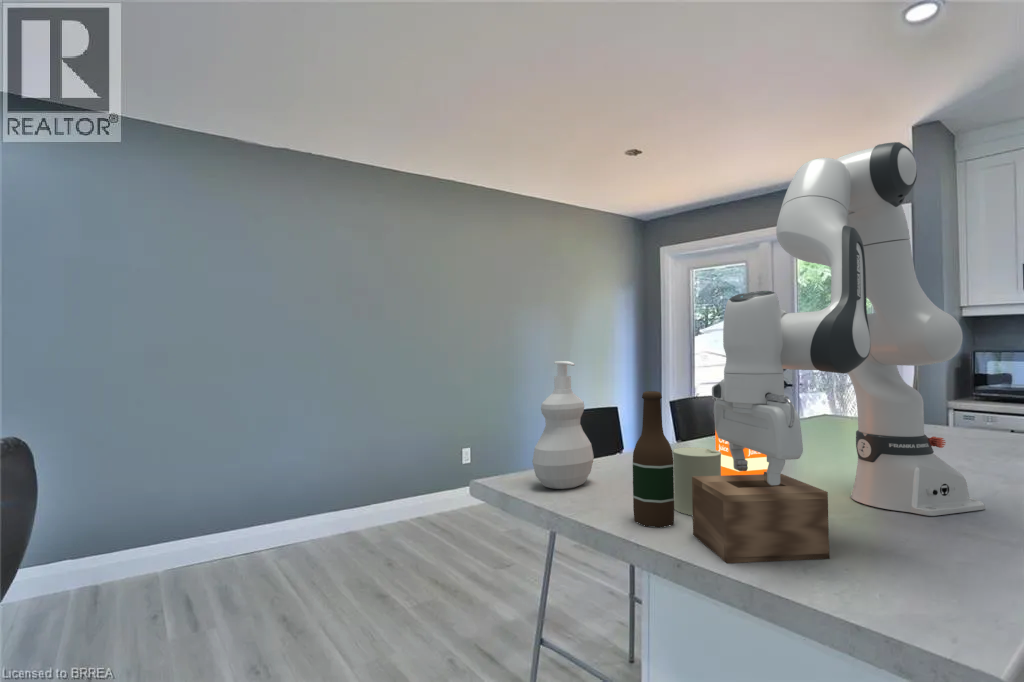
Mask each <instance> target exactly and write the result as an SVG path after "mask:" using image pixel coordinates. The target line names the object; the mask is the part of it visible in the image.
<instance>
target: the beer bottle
mask: <svg viewBox="0 0 1024 682" xmlns="http://www.w3.org/2000/svg"><path fill="white" fill-rule="evenodd" d="M641 398H642V399H643V408H642V409H643V410H642V428H641V435H640V436H639V438H638V439H637V441H636V442H635V445H634V449H633V452H632V497H633V498H632V499H633V500H632V501H633V502H632V503H633V504H632V505H633V506H632V507H633V510H632V511H633V521H634V522H635V523H636V522H638V523H637V524H639V523H640V524H639V525H641V524H642V525H641V526H644V525H645V526H644V527H648V526H655V527H654V528H660V527H662V528H665V527H664V526H666V527H670V526H669V525H671V526H674V523H675V521H674V520H675V509H674V461H673V449H672V446H671V444H670V441H669V440H668V439H667V437H666V436H665V434H664V427H663V420H662V403H661V399H662V398H663V396H662V393H661V391H655V390H653V391H652V390H650V391H649V390H647V391H644V392H642V396H641Z"/></svg>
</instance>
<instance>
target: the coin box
mask: <svg viewBox="0 0 1024 682" xmlns="http://www.w3.org/2000/svg"><path fill="white" fill-rule="evenodd" d="M692 506H693V516H692V536H693V535H694V536H693V537H695V539H697V540H698V541H699V540H700V541H699V542H701V543H702V544H703V545H704V546H705V547H706V548H708V549H709V550H710V551H712V552H713V553H714V554H715V555H717V556H718V557H719V558H720V559H721V560H723V562H725V563H726V564H735V563H742V564H743V563H759V562H762V563H764V562H782V561H785V562H786V561H787V562H788V561H804V560H805V561H808V560H809V561H810V560H827V559H828V560H830V532H829V531H830V529H829V526H830V525H829V492H828V491H827V490H824V489H821V488H819V487H816V486H813V485H812V484H808V483H806V482H803V481H801V480H799V479H796V478H793V477H791V476H788V475H787V474H786V475H785V474H783V473H780V484H779V485H770V484H767V483H765V482H764V474H756V475H724V476H692Z"/></svg>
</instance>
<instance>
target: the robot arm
mask: <svg viewBox="0 0 1024 682" xmlns="http://www.w3.org/2000/svg"><path fill="white" fill-rule="evenodd" d="M917 167H918V166H917V162H916V158H915V155H914V153H913V152H912V150H911V149H910V148H909V147H908V146H907V145H905V144H904V143H901V142H900V141H898V142H897V141H896V142H895V141H894V142H886V143H881V144H880V143H879V144H877V145H875V146H874V147H870V148H866V149H862V150H857V151H854V152H851V153H847V154H845V155H842V156H840V157H838V158H836V159H835V158H830V157H820V158H815V159H811V160H809V161H806V162H805V163H803V164H802V165H801V166H800V167H799V168H798V169H797V171H796V172H795V174H794V175H793V178H792V179H791V181H790V183H789V186H788V187H787V190H786V192H785V195H784V196H783V197H784V198H783V200H782V204H781V207H780V211H779V215H778V218H777V221H776V231H775V232H776V239H777V241H778V243H779V245H780V247H781V248H782V250H784V251H785V252H786V253H787V254H789V255H790V256H792V257H794V258H796V259H798V260H800V261H802V262H806V263H811V264H818V265H822V266H827V267H829V268H831V269H830V272H831V275H830V276H831V277H830V281H831V282H830V287H831V288H830V292H831V293H830V304H829V305H827V306H826V307H825V308H823V309H821V310H816V311H815V310H814V311H801V312H787V311H786V310H784V309H783V308H781V307H780V302H779V301H780V300H779V298H778V295H777V293H776V292H774V291H772V290H759V291H757V290H756V291H752V292H747V293H746V292H743V293H739V294H735V295H733V296H731V297H730V298H729V299H728V300H727V302H726V305H725V310H724V315H723V325H722V326H723V332H722V333H723V334H722V337H723V338H722V342H723V343H722V345H723V351H724V352H725V357H726V359H725V365H724V368H723V379H722V380H720V381H718V383H716V384H714V385H713V386H711V387H712V388H711V397H712V398H713V399H714V400H715V401H714V404H713V414H714V415H713V416H714V431H715V430H716V433H717V436H718V438H719V439H722V440H725V441H727V442H729V449H730V452H731V455H732V458H733V467H734V469H736V470H738V471H747V469H748V466H747V465H748V461H747V460H745V456H744V451H743V449H745V448H747V449H750V450H753V451H756V452H759V453H762V454H765V455H767V462H769V465H768V469H767V472H764V482H765V483H767V484H770V485H779V484H780V474H782V472H783V469H784V467H785V464H786V461H787V460H788V461H790V460H799V459H800V458H801V457H802V455H803V451H804V445H803V435H802V427H801V420H800V416H799V413H798V411H797V410H796V408H795V405H794V404H793V403H792V401H791V400H790V397H789V396H787V395H785V374H784V372H785V371H784V370H792V371H796V370H797V371H798V370H799V371H819V372H820V371H821V372H826V373H834V374H835V373H836V374H848V376H849V379H850V381H851V383H852V386H853V389H854V392H855V398H856V409H857V410H856V411H857V430H856V431H855V448H856V453H857V463H856V464H857V466H856V473H855V478H854V484H853V487H852V490H851V494H850V498H851V499H852V500H853V501H856V502H858V503H860V504H864V505H866V506H871V507H875V508H879V509H885V510H891V511H897V512H905V513H912V514H917V515H922V516H929V517H936V516H941V515H943V516H944V515H949V514H950V515H951V514H958V513H966V512H967V513H969V512H976V511H983V510H986V505H985V503H983V501H980V500H978V499H975V498H974V497H970V494H969V488H968V484H967V483H968V482H967V480H966V478H965V476H964V475H963V474H962V473H961V472H960V471H958V470H957V469H955V468H954V467H953V466H951V465H950V464H948V463H947V462H945V461H944V460H943V459H941V458H940V457H938V456H937V455H936V454H934V449H933V447H936V448H940V449H942V448H945V446H946V440H945V439H944V438H943V437H937V436H931V437H928V436H927V435H926V434H925V411H924V408H925V407H924V405H925V404H924V398H923V396H922V394H921V393H920V392H919V391H918V390H917V389H916V388H915V387H912V386H911V385H909V384H908V383H907V382H906V381H905V380H904V379H903V378H902V376H901V374H900V371H899V369H898V366H906V367H907V366H913V367H914V366H915V367H918V366H919V367H921V366H928V365H933V364H934V365H935V364H939V363H944V362H949V361H950V360H951V359H953V358H955V356H956V355H957V354H958V353H959V351H960V350H961V348H962V344H963V337H964V336H963V330H962V327H961V325H960V323H959V322H958V320H957V319H955V317H954V316H952V314H950V313H948V312H946V311H944V310H942V309H941V308H939V307H938V306H937V305H936V304H934V303H933V302H932V300H931V299H930V298H929V297H928V296H927V294H926V293H925V291H924V290H923V289H922V287H921V285H920V283H919V280H918V277H917V274H916V269H915V265H914V259H913V258H914V257H913V254H912V253H913V252H912V245H911V237H910V230H909V225H908V221H907V217H906V213H905V210H904V207H903V202H904V200H905V198H906V197H907V196H908V195H909V194H910V192H911V191H912V190H913V188H914V186H915V184H916V182H917V177H918V175H917V174H918V169H917ZM867 299H868V300H869V302H870V304H871V305H872V306H873V309H874V313H873V312H872V313H868V311H867V309H868V308H867Z"/></svg>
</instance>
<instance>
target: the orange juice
mask: <svg viewBox="0 0 1024 682" xmlns="http://www.w3.org/2000/svg"><path fill="white" fill-rule="evenodd" d="M714 431H715V434H714V435H715V437H714V439H715V450H717V451H720V452H721V476H724V475H756V474H764V472H767V469H768V465H769V462H767V455H765V454H762V453H759V452H756V451H753V450H750V449H747V448H745V449H743V451H744V456H745V460H747V461H748V465H747V466H748V469H747V471H738V470H736V469H734V467H733V458H732V455H731V452H730V449H729V442H727V441H725V440H722V439H719V438H718V436H717V433H716V430H715V429H714Z"/></svg>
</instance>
